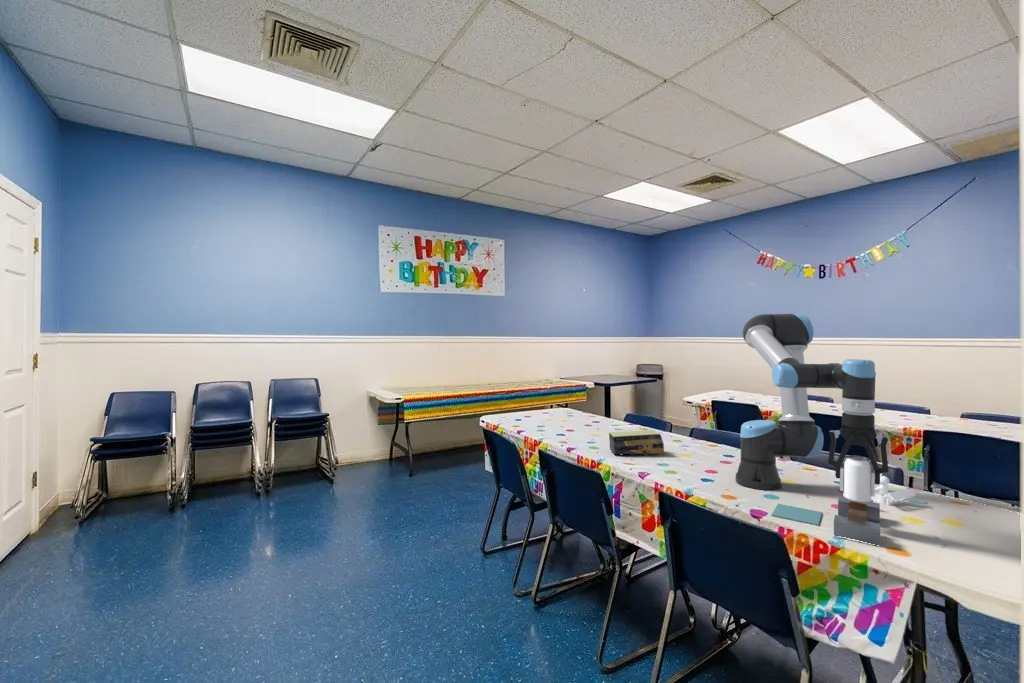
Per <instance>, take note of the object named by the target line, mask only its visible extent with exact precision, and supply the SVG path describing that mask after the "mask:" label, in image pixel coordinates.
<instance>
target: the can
mask: <svg viewBox="0 0 1024 683" xmlns="http://www.w3.org/2000/svg"><path fill="white" fill-rule="evenodd" d="M843 467H844V476H843V491H842V492H843V494H842V495H843V496H842V497H845V498H846V499H848V500H851V501H855V502H861V503H868V502H870V501H871V472H872V471H873V470H872V469H873V466H872V464H871V461H870V459H869V457H866V456H861V455H855V454H853V455H850V454H848V455H847V454H846V456H845V458H844V460H843Z"/></svg>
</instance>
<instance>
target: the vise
mask: <svg viewBox="0 0 1024 683" xmlns="http://www.w3.org/2000/svg"><path fill="white" fill-rule="evenodd" d="M837 500H838V501H837V514H834V517H833V536H834V535H835V536H841V537H846V538H850V539H855V540H859V541H863V542H867V543H871V544H875V545H879V546H880V547H881V535H882V534H881V530H882V528H881V516H880V514H881V512H880V511H881V510H880V509H881V507H880V506H881V505H880V504H881V503H878V502H875V501H873V500H871V501H870V502H868V503H861V502H855V501H851V500H848V499H846V498H845V497H844V496H838V499H837ZM844 516H846V517H844ZM869 521H871V522H869ZM875 522H876V523H875Z"/></svg>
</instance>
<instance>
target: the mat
mask: <svg viewBox="0 0 1024 683" xmlns="http://www.w3.org/2000/svg"><path fill="white" fill-rule="evenodd" d="M822 514H823V511H820V510H819V511H818V510H813V509H808V508H804V507H803V508H802V507H799V506H792V505H789V504H788V505H787V504H782V503H777V505H776V506H775V508H774V510H773V512H772V513H771V517H775V518H779V519H784V520H789V521H794V522H799V523H802V522H804V523H803V524H807V523H809V525H812V524H815V525H814V526H817V525H819V526H820V522H821V518H822Z"/></svg>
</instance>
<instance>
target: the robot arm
mask: <svg viewBox="0 0 1024 683" xmlns="http://www.w3.org/2000/svg"><path fill="white" fill-rule="evenodd" d="M742 328H743V329H742V337H743V340H744V342H745V343H746V344H747V345H748V346H749V347H751V348H752V349H754V350H755V351H756V352H757V353H758V354H759V355H760V356H761V358H763V360H764V361H765V362H766V363H767V364H768V366H769V367H770V368H771V369H772V370H771V379H772V383H773V384H774V386H776V387H778V388H779V390H780V404H781V415H782V416H780V418H778V419H777V423H778V424H777V423H776V421H774V420H769V419H767V420H765V419H755V420H749V421H746V422H743V423H742V424H741V425H740V434H739V437H740V461H739V462H740V463H739V466H738V468H737V472H736V473H735V482H736V483H737V485H738V484H739V485H741V486H744V487H747V488H750V489H754V490H755V489H757V490H764V491H765V490H766V491H771V490H772V491H773V490H779V489H781V488H782V479H781V477H780V474H779V470H778V467H777V459H776V458H777V457H780V458H781V457H783V458H802V459H805V458H816V457H817V456H819V455H820V454H821V452H822V449H823V447H824V442H825V441H824V439H825V438H824V433H823V432H822V428H821V427H820V426H819V425H816V424H815V419H813V418H812V417H811V416H810V410H809V402H808V401H809V399H808V389H839V390H842V394H841V395H842V397H841V403H842V404H841V409H842V411H843V412H842V413H841V427H840V429H837V430H834V429H833V430H832V429H831V430H829V431H828V432H829V433H828V434H829V438H830V443H829V444H830V445H829V452H828V460H827V463H828V464H829V465H831V466H833V467H834V468H835V475H834V476H835V478H836V479H839V491H840V492H843V476H844V466H842V464H843V463H844V460H845V459H846V457H845V456H847V454H848V452H849V449H850V448H851V446H859V447H863V448H864V449H865V451H866V453H867V455H868V458H869V459H870V460H869V461H870V463H871V466H872V469H873V470H872V472H871V496H874V497H875V488H876V487H875V486H876V485H878V486H880V485H881V484H880V474H883V473H888V472H889V463H888V454H887V453H888V452H887V445H888V441H889V437H888V436H887V435H880V434H878V433H877V432H876V430H875V423H876V422H875V420H876V418H875V415H874V414H875V410H876V399H875V398H876V375H877V373H876V364H875V362H874V361H873V360H871V359H856V358H854V359H853V358H851V359H850V358H849V359H844V361H843V362H842V363H839V362H830V363H829V362H828V363H805V356H804V355H805V354H804V352H805V351H806V350H807V349H808V345H810V343H812V341H813V339H814V338H813V337H814V334H815V333H814V332H815V331H814V327H813V324H812V321H811V319H809V317H808V316H806V315H805V314H802V313H801V314H800V313H773V314H771V313H762V314H757V315H754V316H753V317H752V318H750V319H749V320H748V321H747V322H746V323H745V325H744V326H743V327H742ZM839 435H841V436H842V437H843V439H844V440H845V443H844V445H843V447H842V450H841V451H840V453H839V456H838V458H837V460H835V454H836V444H837V439H838V438H839ZM875 439H877V442H878V443H879V444H880V455H881V467H880V466H879V463H878V461H877V458H876V456H875V454H874V450H873V449H872V446H871V443H872V442H873V441H874V440H875Z"/></svg>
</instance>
